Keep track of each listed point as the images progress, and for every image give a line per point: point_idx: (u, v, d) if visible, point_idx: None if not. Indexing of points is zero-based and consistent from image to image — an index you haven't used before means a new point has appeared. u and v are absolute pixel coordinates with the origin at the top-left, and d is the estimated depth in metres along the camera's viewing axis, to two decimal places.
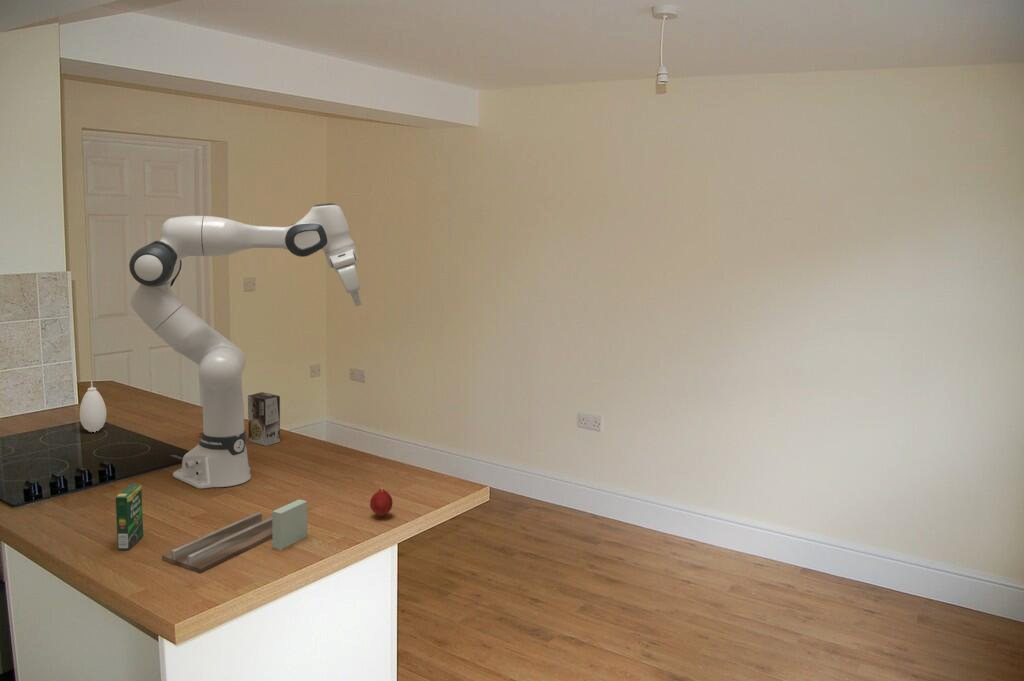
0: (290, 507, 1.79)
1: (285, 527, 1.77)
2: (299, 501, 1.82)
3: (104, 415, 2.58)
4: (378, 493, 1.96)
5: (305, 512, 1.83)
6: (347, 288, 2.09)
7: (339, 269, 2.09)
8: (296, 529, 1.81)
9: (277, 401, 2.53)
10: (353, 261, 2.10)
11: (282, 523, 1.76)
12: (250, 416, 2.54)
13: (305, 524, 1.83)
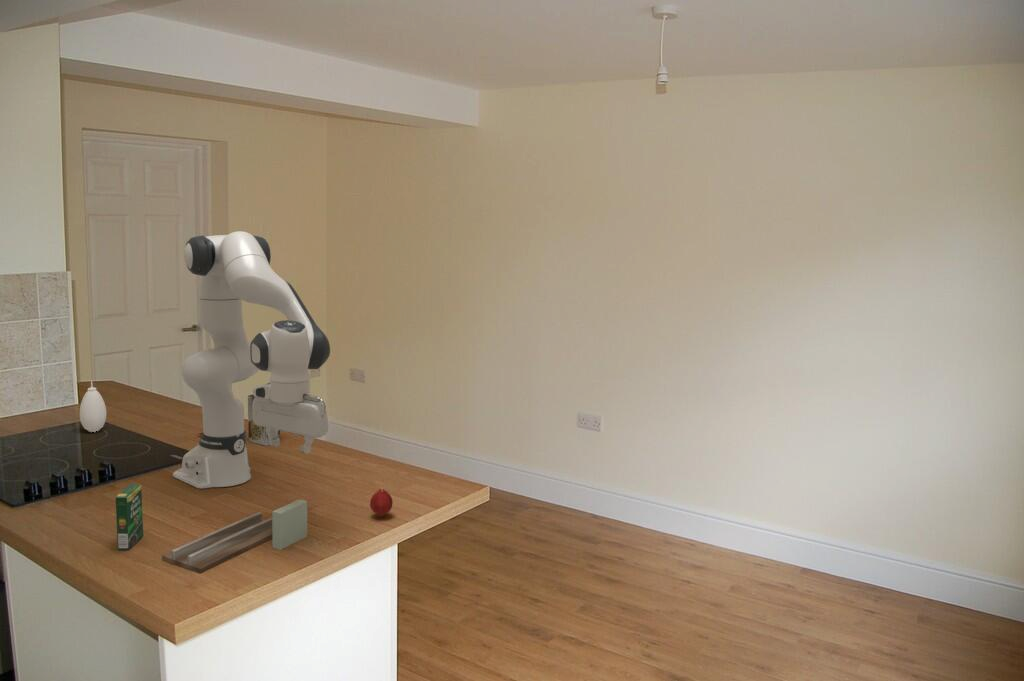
0: (290, 507, 1.79)
1: (285, 527, 1.77)
2: (299, 501, 1.82)
3: (104, 415, 2.58)
4: (378, 493, 1.96)
5: (305, 512, 1.83)
6: None
7: None
8: (296, 529, 1.81)
9: None
10: None
11: (282, 523, 1.76)
12: (250, 416, 2.54)
13: (305, 524, 1.83)
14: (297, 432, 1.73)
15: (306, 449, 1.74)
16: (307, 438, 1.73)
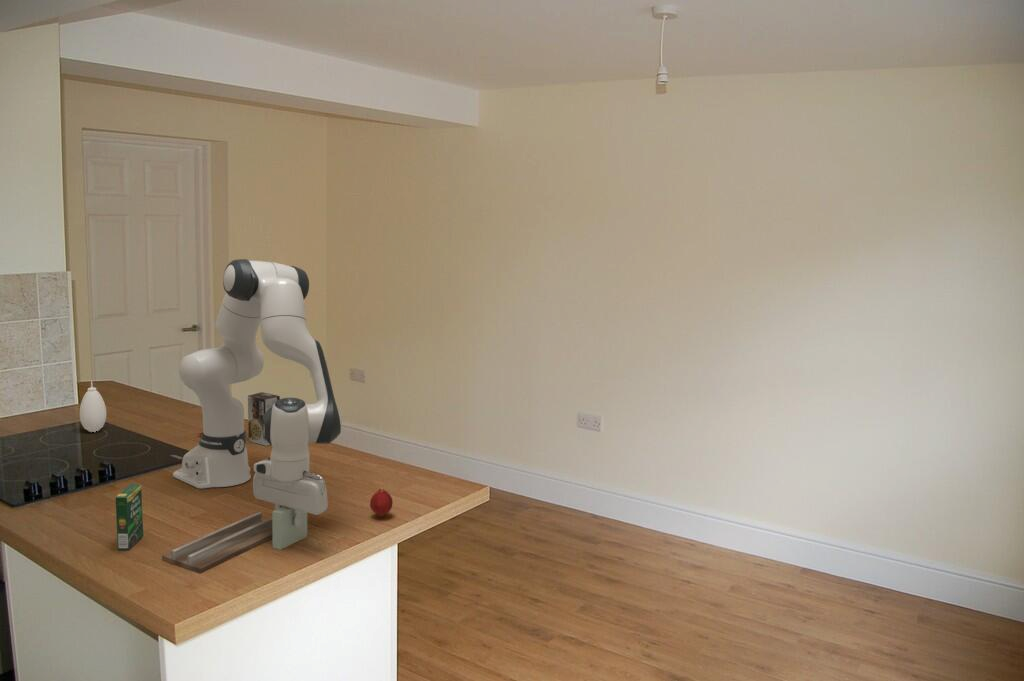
0: None
1: (285, 527, 1.77)
2: None
3: (104, 415, 2.58)
4: (378, 493, 1.96)
5: (305, 512, 1.83)
6: None
7: None
8: (296, 529, 1.81)
9: None
10: None
11: (283, 523, 1.76)
12: (250, 416, 2.54)
13: (305, 524, 1.83)
14: (297, 508, 1.76)
15: (297, 522, 1.78)
16: (298, 512, 1.77)
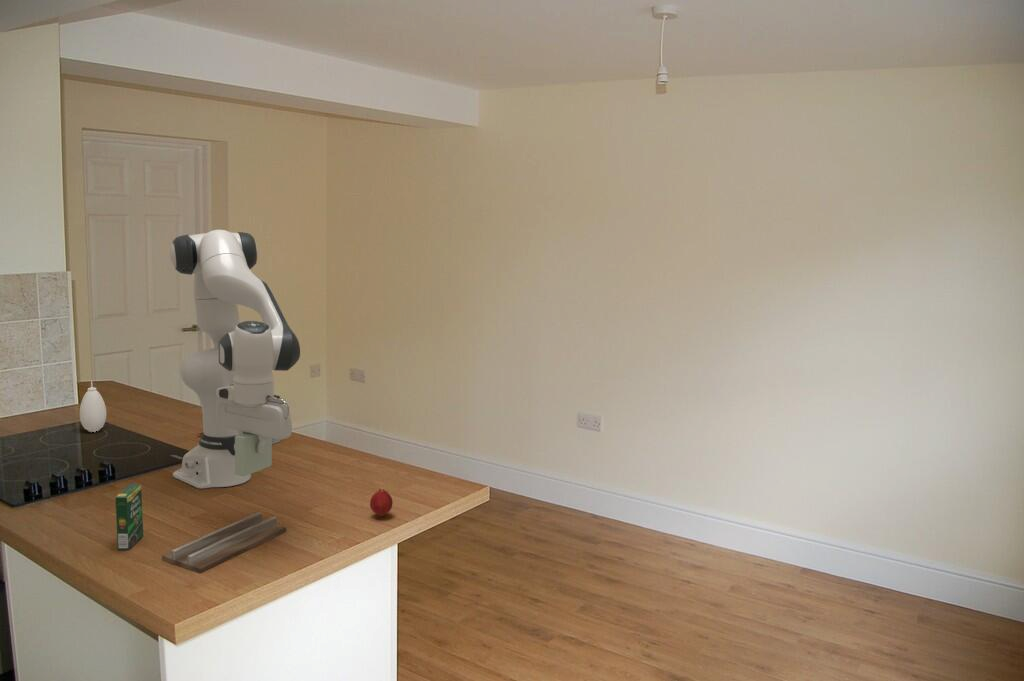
0: None
1: (248, 453, 1.72)
2: None
3: (104, 415, 2.58)
4: (378, 493, 1.96)
5: (270, 440, 1.78)
6: None
7: None
8: (260, 457, 1.76)
9: None
10: None
11: (245, 448, 1.71)
12: None
13: (270, 452, 1.79)
14: (260, 434, 1.71)
15: (260, 449, 1.74)
16: (261, 438, 1.72)
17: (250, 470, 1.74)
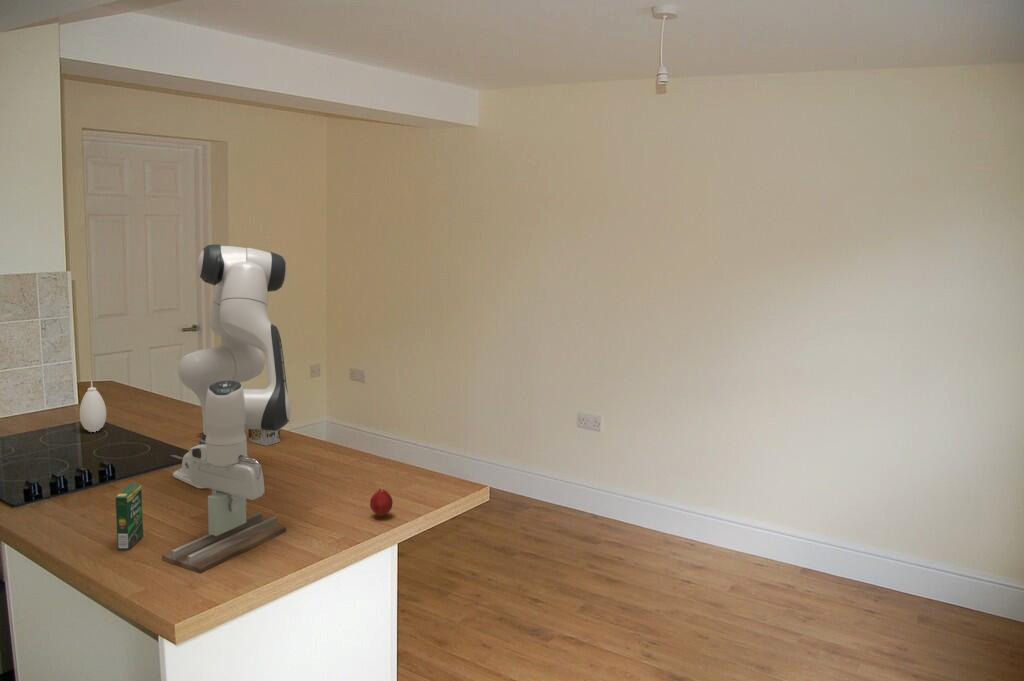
0: None
1: (221, 512, 1.73)
2: None
3: (104, 415, 2.58)
4: (378, 493, 1.96)
5: None
6: None
7: None
8: (234, 515, 1.77)
9: None
10: None
11: (218, 508, 1.72)
12: None
13: (244, 510, 1.79)
14: (233, 493, 1.72)
15: (234, 508, 1.74)
16: (234, 497, 1.73)
17: (223, 529, 1.74)
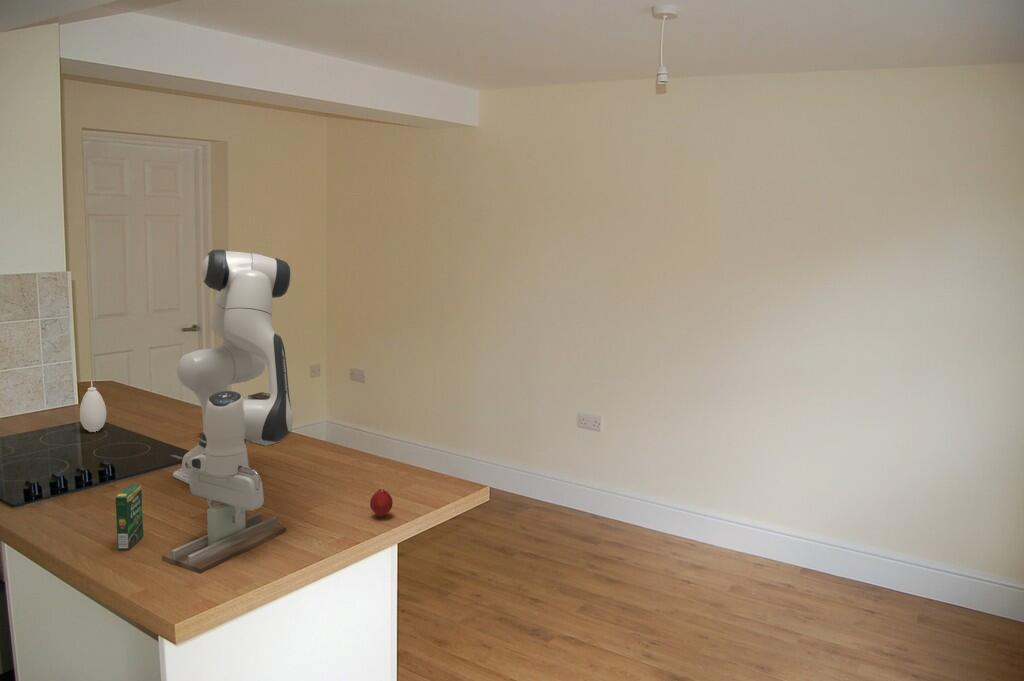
0: (226, 505, 1.75)
1: (221, 526, 1.74)
2: None
3: (104, 415, 2.58)
4: (378, 493, 1.96)
5: None
6: None
7: None
8: (233, 528, 1.77)
9: None
10: None
11: (218, 521, 1.73)
12: None
13: (243, 522, 1.80)
14: (232, 504, 1.72)
15: (237, 519, 1.74)
16: (238, 509, 1.73)
17: None
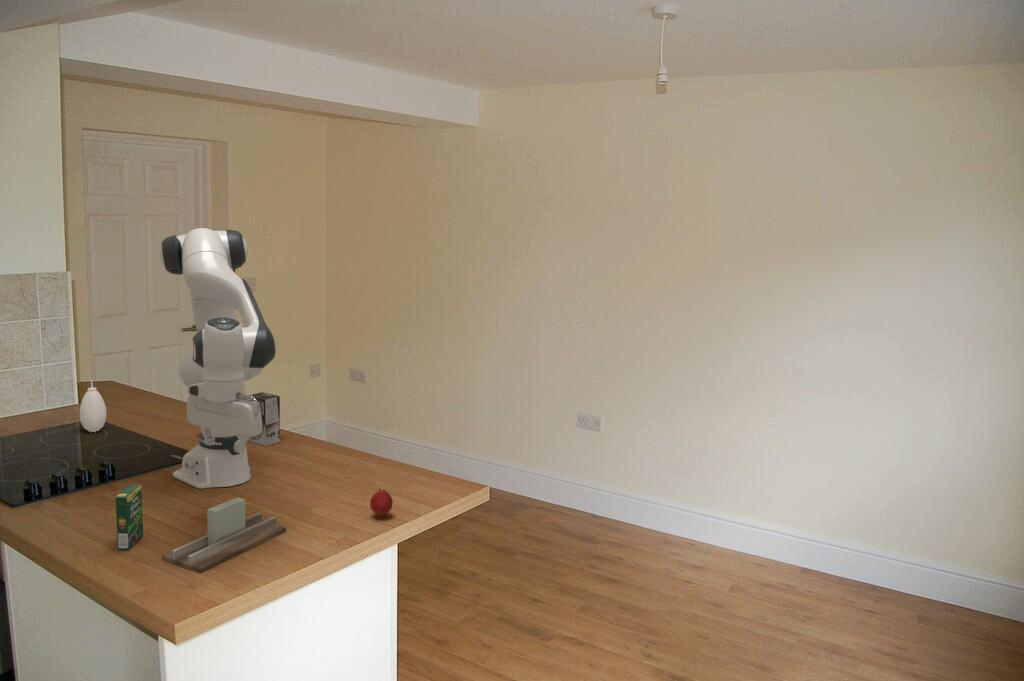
0: (226, 505, 1.75)
1: (221, 526, 1.74)
2: (237, 499, 1.79)
3: (104, 415, 2.58)
4: (378, 493, 1.96)
5: (243, 510, 1.79)
6: None
7: None
8: (233, 528, 1.77)
9: (277, 401, 2.53)
10: None
11: (218, 521, 1.73)
12: None
13: (243, 522, 1.80)
14: (230, 431, 1.70)
15: (240, 449, 1.71)
16: (240, 437, 1.70)
17: None
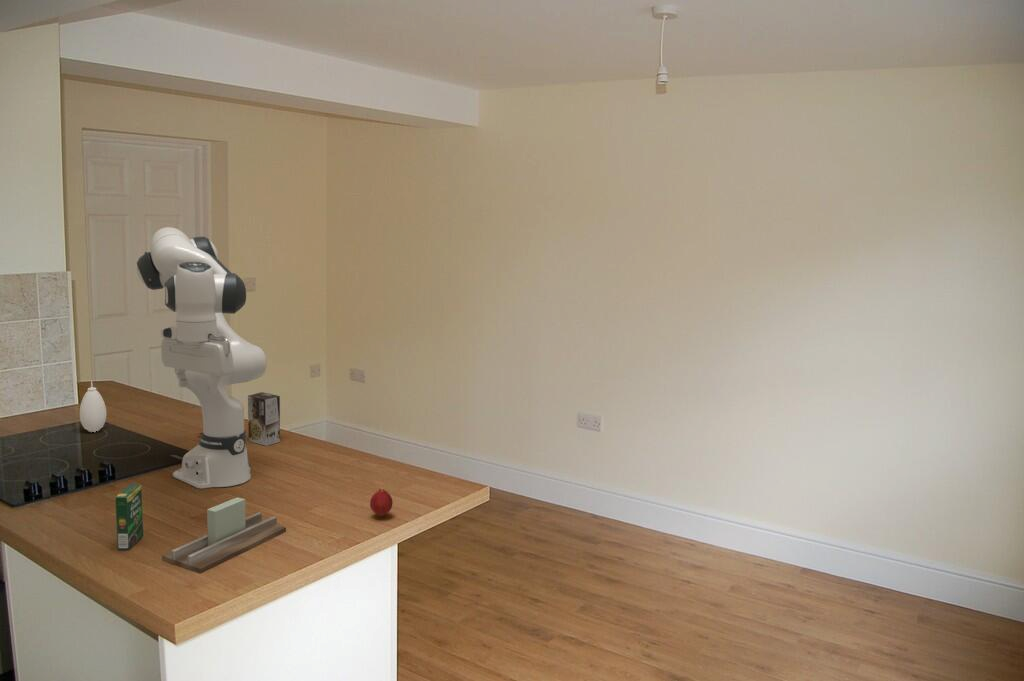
0: (226, 505, 1.75)
1: (221, 526, 1.74)
2: (237, 499, 1.79)
3: (104, 415, 2.58)
4: (378, 493, 1.96)
5: (243, 510, 1.79)
6: None
7: None
8: (233, 528, 1.77)
9: (277, 401, 2.53)
10: None
11: (218, 521, 1.73)
12: (250, 416, 2.54)
13: (243, 522, 1.80)
14: (203, 371, 1.76)
15: (212, 388, 1.77)
16: (212, 377, 1.75)
17: None
